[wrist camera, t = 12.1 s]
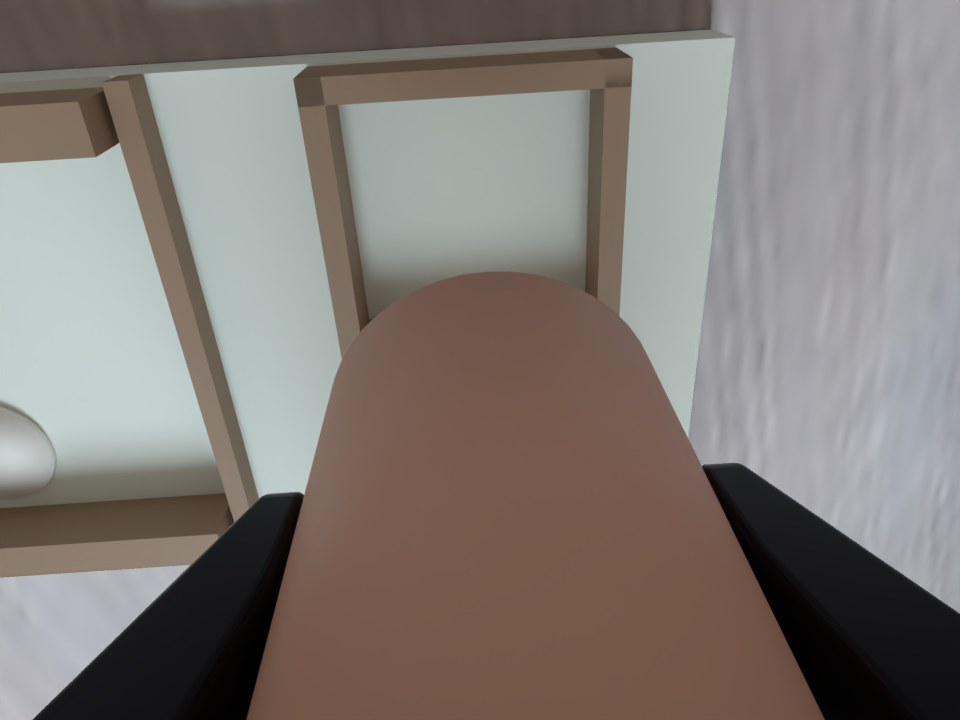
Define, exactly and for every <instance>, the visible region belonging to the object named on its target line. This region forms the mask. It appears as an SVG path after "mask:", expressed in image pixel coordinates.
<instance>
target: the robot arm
mask: <svg viewBox="0 0 960 720" xmlns="http://www.w3.org/2000/svg"><path fill="white" fill-rule="evenodd" d="M702 468H703V470H704V472H705V474H706V476H707V479H708V481H709V483H710V485H711V487H712V489H713V491H714V493H715V495H716V497H717V499H718V501H719V503H720V505H721V507H722V509H723V511H724V513H725V516H726V518H727V520H728V522H729V524H730V526H731V528H732V530H733V532H734V534H735V536H736V538H737V540H738V542H739V544H740V546H741V548H742V550H743V552H744V555H745V557H746V559H747V561H748V563H749V565H750V567H751V569H752V571H753V573H754V575H755V577H756V579H757V581H758V583H759V585H760V587H761V589H762V592H763V594H764V596H765V598H766V600H767V602H768V604H769V606H770V608H771V610H772V612H773V614H774V616H775V618H776V620H777V622H778V624H779V626H780V629H781V631H782V633H783V635H784V637H785V639H786V641H787V643H788V645H789V647H790V649H791V651H792V653H793V655H794V657H795V659H796V661H797V663H798V666H799V668H800V670H801V672H802V674H803V676H804V678H805V680H806V682H807V684H808V686H809V688H810V690H811V692H812V694H813V696H814V698H815V700H816V702H817V705H818V707H819V709H820V711H821V713H822V715H823V717H824V719H825V720H960V613H958V612H957V611H955V610H954V609H952V608H951V607H949V606H948V605H946V604H945V603H944V602H942V601H941V600H939V599H938V598H936V597H935V596H933V595H932V594H930V593H929V592H928V591H926V590H925V589H923V588H922V587H920V586H919V585H917V584H916V583H914V582H913V581H911V580H910V579H909V578H907V577H906V576H904V575H903V574H901V573H900V572H898V571H897V570H895V569H894V568H893V567H891V566H890V565H888V564H887V563H885V562H884V561H882V560H881V559H879V558H878V557H877V556H875V555H874V554H872V553H871V552H869V551H868V550H866V549H865V548H863V547H862V546H860V545H859V544H858V543H856V542H855V541H853V540H852V539H850V538H849V537H847V536H846V535H844V534H843V533H842V532H840V531H839V530H837V529H836V528H834V527H833V526H831V525H830V524H828V523H827V522H826V521H824V520H823V519H821V518H820V517H818V516H817V515H815V514H814V513H812V512H811V511H809V510H808V509H807V508H805V507H804V506H802V505H801V504H799V503H798V502H796V501H795V500H793V499H792V498H791V497H789V496H788V495H786V494H785V493H783V492H782V491H780V490H779V489H777V488H776V487H775V486H773V485H772V484H770V483H769V482H767V481H766V480H764V479H763V478H761V477H760V476H758V475H757V474H756V473H754V472H753V471H751V470H750V469H748V468H747V467H745V466H743V465H741V464H739V463H723V464H708V465H703V466H702ZM303 498H304V494H302V493H300V492H285V493H270V494H265V495H263V496H262V497H260V498H259V499H258V500H257V501H256V502H255V503H254V504H253V505H252V506H251V507H250V508H249V509H248V510H247V511H246V512H245V513H243V514H242V515H241V516H240V517H239V518H238V519H237V520H236V521H235V522H234V523H233V524H232V525H231V526H230V527H229V528H228V529H227V530H226V531H225V532H224V533H223V534H222V535H221V536H220V537H219V538H218V539H217V540H216V541H215V542H214V543H213V544H212V545H211V546H210V547H209V548H208V549H207V550H206V551H205V552H204V553H203V554H202V555H201V556H200V557H198V558H197V559H196V560H195V561H194V562H193V563H192V564H191V565H190V566H189V567H188V568H187V569H186V570H185V571H184V572H183V573H182V574H181V575H180V576H179V577H178V578H177V579H176V580H175V581H174V582H173V583H172V584H171V585H170V586H169V587H168V588H167V589H166V590H165V591H164V592H163V593H162V594H161V595H160V596H159V597H158V598H157V599H156V600H154V601H153V602H152V603H151V604H150V605H149V606H148V607H147V608H146V609H145V610H144V611H143V612H142V613H141V614H140V615H139V616H138V617H137V618H136V619H135V620H134V621H133V622H132V623H131V624H130V625H129V626H128V627H127V628H126V629H125V630H124V631H123V632H122V633H121V634H120V635H119V636H118V637H117V638H116V639H115V640H114V641H113V642H112V643H111V644H109V645H108V646H107V647H106V648H105V649H104V650H103V651H102V652H101V653H100V654H99V655H98V656H97V657H96V658H95V659H94V660H93V661H92V662H91V663H90V664H89V665H88V666H87V667H86V668H85V669H84V670H83V671H82V672H81V673H80V674H79V675H78V676H77V677H76V678H75V679H74V680H73V681H72V682H71V683H70V684H69V685H68V686H67V687H66V688H64V689H63V690H62V691H61V692H60V693H59V694H58V695H57V696H56V697H55V698H54V699H53V700H52V701H51V702H50V703H49V704H48V705H47V706H46V707H45V708H44V709H43V710H42V711H41V712H40V713H39V714H38V715H37V716H36V717H35V718H34V719H33V720H246V719H247V715H248V711H249V708H250V704H251V700H252V696H253V692H254V688H255V684H256V680H257V676H258V673H259V669H260V665H261V661H262V657H263V653H264V649H265V645H266V642H267V638H268V634H269V630H270V626H271V622H272V618H273V614H274V610H275V607H276V603H277V599H278V595H279V591H280V587H281V583H282V579H283V576H284V572H285V568H286V564H287V560H288V556H289V552H290V548H291V545H292V541H293V537H294V533H295V529H296V525H297V521H298V517H299V513H300V510H301V506H302V502H303Z"/></svg>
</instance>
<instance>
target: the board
mask: <svg viewBox="0 0 960 720" xmlns="http://www.w3.org/2000/svg"><path fill="white" fill-rule="evenodd" d="M735 38H736V37H733V36H730V35H727V34H724V33H721V32H718V31H714V30H696V31H680V32H664V33H647V34H631V35H615V36H599V37H582V38H566V39H550V40H534V41H517V42H501V43H485V44H468V45H452V46H436V47H420V48H403V49H387V50H371V51H354V52H338V53H322V54H306V55H289V56H273V57H257V58H240V59H224V60H208V61H192V62H175V63H159V64H143V65H126V66H110V67H94V68H78V69H61V70H45V71H29V72H13V73H0V577H15V576H30V575H44V574H59V573H74V572H89V571H104V570H118V569H133V568H148V567H163V566H177V565H191V564H192V563H193V562H194V561H195V560H196V559H197V558H198V557H200V556H201V555H202V554H203V553H204V552H205V551H206V550H207V549H208V548H209V547H210V546H211V545H212V544H213V543H214V542H215V541H216V540H217V539H218V538H219V537H220V536H221V535H222V534H223V533H224V532H225V531H226V530H227V529H228V528H229V527H230V526H231V525H232V524H233V523H234V522H235V521H236V520H237V519H238V518H239V517H240V516H241V515H242V514H243V513H245V512H246V511H247V510H248V509H249V508H250V507H251V506H252V505H253V504H254V503H255V502H256V501H257V500H258V499H259V498H260V497H262V496H263V495H265V494H270V493H285V492H300V493H302V494H305V490H306V486H307V482H308V479H309V475H310V471H311V467H312V463H313V459H314V455H315V451H316V448H317V444H318V440H319V436H320V432H321V428H322V424H323V420H324V416H325V413H326V409H327V405H328V401H329V397H330V393H331V389H332V385H333V382H334V378H335V376H336V373H337V370H338V368H339V365H340V363H341V361H342V359H343V357H344V355H345V354H346V352H347V350H348V348H349V347H350V345H351V343H352V342H353V341H354V340H355V338H356V337H357V336H358V335H359V333H360V332H361V331H362V329H363V328H364V327H365V326H366V325H367V324H368V323H369V322H370V321H371V320H373V319H374V318H375V317H376V316H377V315H378V314H379V313H380V312H381V311H383V310H384V309H386V308H387V307H388V306H390V305H391V304H393V303H394V302H395V301H397V300H398V299H400V298H402V297H404V296H406V295H408V294H409V293H411V292H413V291H415V290H417V289H419V288H422V287H424V286H427V285H429V284H432V283H435V282H437V281H440V280H444V279H448V278H452V277H456V276H460V275H464V274H472V273H480V272H519V273H527V274H535V275H539V276H543V277H547V278H551V279H555V280H559V281H561V282H564V283H566V284H569V285H572V286H574V287H577V288H579V289H581V290H583V291H584V292H586V293H588V294H590V295H592V296H594V297H595V298H597V299H599V300H600V301H601V302H603V303H604V304H605V305H607V306H608V307H609V308H611V309H612V310H613V311H615V312H616V313H617V314H618V315H619V316H620V317H621V318H622V319H623V320H624V321H625V322H626V323H627V324H628V325H629V327H630V328H631V329H632V331H633V332H634V334H635V335H636V336H637V338H638V339H639V340H640V342H641V344H642V346H643V348H644V350H645V351H646V353H647V355H648V357H649V359H650V361H651V363H652V366H653V368H654V370H655V372H656V374H657V376H658V378H659V380H660V382H661V384H662V386H663V388H664V390H665V392H666V394H667V396H668V398H669V400H670V402H671V405H672V407H673V409H674V411H675V413H676V415H677V417H678V419H679V421H680V423H681V425H682V427H683V429H684V431H685V433H686V435H687V437H688V435H689V426H690V418H691V409H692V401H693V393H694V384H695V376H696V367H697V359H698V350H699V342H700V333H701V325H702V317H703V308H704V300H705V291H706V283H707V274H708V266H709V257H710V249H711V241H712V232H713V224H714V215H715V207H716V198H717V190H718V181H719V173H720V164H721V156H722V148H723V139H724V131H725V122H726V114H727V105H728V97H729V88H730V80H731V72H732V63H733V55H734V46H735Z"/></svg>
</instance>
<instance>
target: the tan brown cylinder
mask: <svg viewBox="0 0 960 720" xmlns="http://www.w3.org/2000/svg"><path fill="white" fill-rule="evenodd" d="M246 720H825V719H824V717H823V715H822V713H821V711H820V709H819V707H818V705H817V702H816V700H815V698H814V696H813V694H812V692H811V690H810V688H809V686H808V684H807V682H806V680H805V678H804V676H803V674H802V672H801V670H800V668H799V666H798V663H797V661H796V659H795V657H794V655H793V653H792V651H791V649H790V647H789V645H788V643H787V641H786V639H785V637H784V635H783V633H782V631H781V629H780V626H779V624H778V622H777V620H776V618H775V616H774V614H773V612H772V610H771V608H770V606H769V604H768V602H767V600H766V598H765V596H764V594H763V592H762V589H761V587H760V585H759V583H758V581H757V579H756V577H755V575H754V573H753V571H752V569H751V567H750V565H749V563H748V561H747V559H746V557H745V555H744V552H743V550H742V548H741V546H740V544H739V542H738V540H737V538H736V536H735V534H734V532H733V530H732V528H731V526H730V524H729V522H728V520H727V518H726V516H725V513H724V511H723V509H722V507H721V505H720V503H719V501H718V499H717V497H716V495H715V493H714V491H713V489H712V487H711V485H710V483H709V481H708V479H707V476H706V474H705V472H704V470H703V468H702V466H701V464H700V462H699V460H698V458H697V456H696V454H695V452H694V450H693V448H692V446H691V444H690V442H689V439H688V437H687V435H686V433H685V431H684V429H683V427H682V425H681V423H680V421H679V419H678V417H677V415H676V413H675V411H674V409H673V407H672V405H671V402H670V400H669V398H668V396H667V394H666V392H665V390H664V388H663V386H662V384H661V382H660V380H659V378H658V376H657V374H656V372H655V370H654V368H653V366H652V363H651V361H650V359H649V357H648V355H647V353H646V351H645V350H644V348H643V346H642V344H641V342H640V340H639V339H638V338H637V336H636V335H635V334H634V332H633V331H632V329H631V328H630V327H629V325H628V324H627V323H626V322H625V321H624V320H623V319H622V318H621V317H620V316H619V315H618V314H617V313H616V312H615V311H613V310H612V309H611V308H609V307H608V306H607V305H605V304H604V303H603V302H601V301H600V300H599V299H597V298H595V297H594V296H592V295H590V294H588V293H586V292H584V291H583V290H581V289H579V288H577V287H574V286H572V285H569V284H566V283H564V282H561V281H559V280H555V279H551V278H547V277H543V276H539V275H535V274H527V273H519V272H480V273H472V274H464V275H460V276H456V277H452V278H448V279H444V280H440V281H437V282H435V283H432V284H429V285H427V286H424V287H422V288H419V289H417V290H415V291H413V292H411V293H409V294H408V295H406V296H404V297H402V298H400V299H398V300H397V301H395V302H394V303H393V304H391V305H390V306H388V307H387V308H386V309H384V310H383V311H381V312H380V313H379V314H378V315H377V316H376V317H375V318H374V319H373V320H371V321H370V322H369V323H368V324H367V325H366V326H365V327H364V328H363V329H362V331H361V332H360V333H359V335H358V336H357V337H356V338H355V340H354V341H353V342H352V343H351V345H350V347H349V348H348V350H347V352H346V354H345V355H344V357H343V359H342V361H341V363H340V365H339V368H338V370H337V373H336V376H335V378H334V382H333V385H332V389H331V393H330V397H329V401H328V405H327V409H326V413H325V416H324V420H323V424H322V428H321V432H320V436H319V440H318V444H317V448H316V451H315V455H314V459H313V463H312V467H311V471H310V475H309V479H308V482H307V486H306V490H305V494H304V498H303V502H302V506H301V510H300V513H299V517H298V521H297V525H296V529H295V533H294V537H293V541H292V545H291V548H290V552H289V556H288V560H287V564H286V568H285V572H284V576H283V579H282V583H281V587H280V591H279V595H278V599H277V603H276V607H275V610H274V614H273V618H272V622H271V626H270V630H269V634H268V638H267V642H266V645H265V649H264V653H263V657H262V661H261V665H260V669H259V673H258V676H257V680H256V684H255V688H254V692H253V696H252V700H251V704H250V708H249V711H248V715H247V719H246Z"/></svg>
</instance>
